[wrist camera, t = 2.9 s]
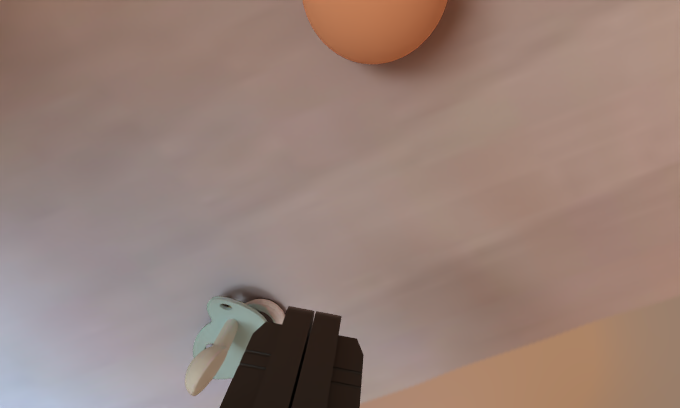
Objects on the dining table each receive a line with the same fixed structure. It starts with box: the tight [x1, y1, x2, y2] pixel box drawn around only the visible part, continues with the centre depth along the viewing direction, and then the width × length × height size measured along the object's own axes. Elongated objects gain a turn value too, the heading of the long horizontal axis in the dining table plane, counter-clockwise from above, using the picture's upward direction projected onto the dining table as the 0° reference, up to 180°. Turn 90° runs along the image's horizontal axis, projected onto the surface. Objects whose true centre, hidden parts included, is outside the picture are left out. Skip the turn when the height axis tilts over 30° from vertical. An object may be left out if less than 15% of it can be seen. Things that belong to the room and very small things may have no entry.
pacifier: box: [185, 296, 285, 396], centre depth 25 cm, size 7×6×6 cm
